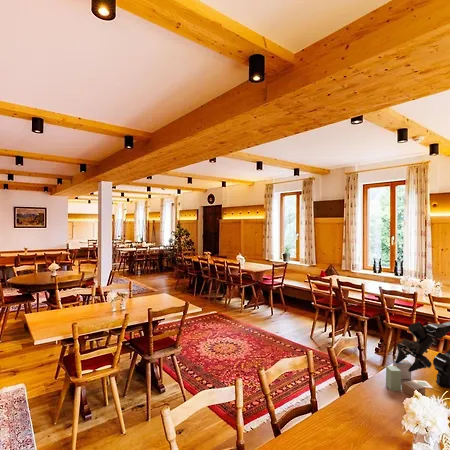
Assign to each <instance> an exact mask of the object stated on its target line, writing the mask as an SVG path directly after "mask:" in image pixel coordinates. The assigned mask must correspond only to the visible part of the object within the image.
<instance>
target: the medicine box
mask: <svg viewBox="0 0 450 450" xmlns="http://www.w3.org/2000/svg"><path fill="white" fill-rule="evenodd" d="M412 364H413V363H411V361H409V360H407V359H404V360H402V361H401V362H399V363H396V359H394V358H393V359H392V366H396V367H397V368H398V369H400V370H401V380H403V379H405V380H412V372H409V371H408V370H409V368H410V367H411V366H412Z"/></svg>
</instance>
